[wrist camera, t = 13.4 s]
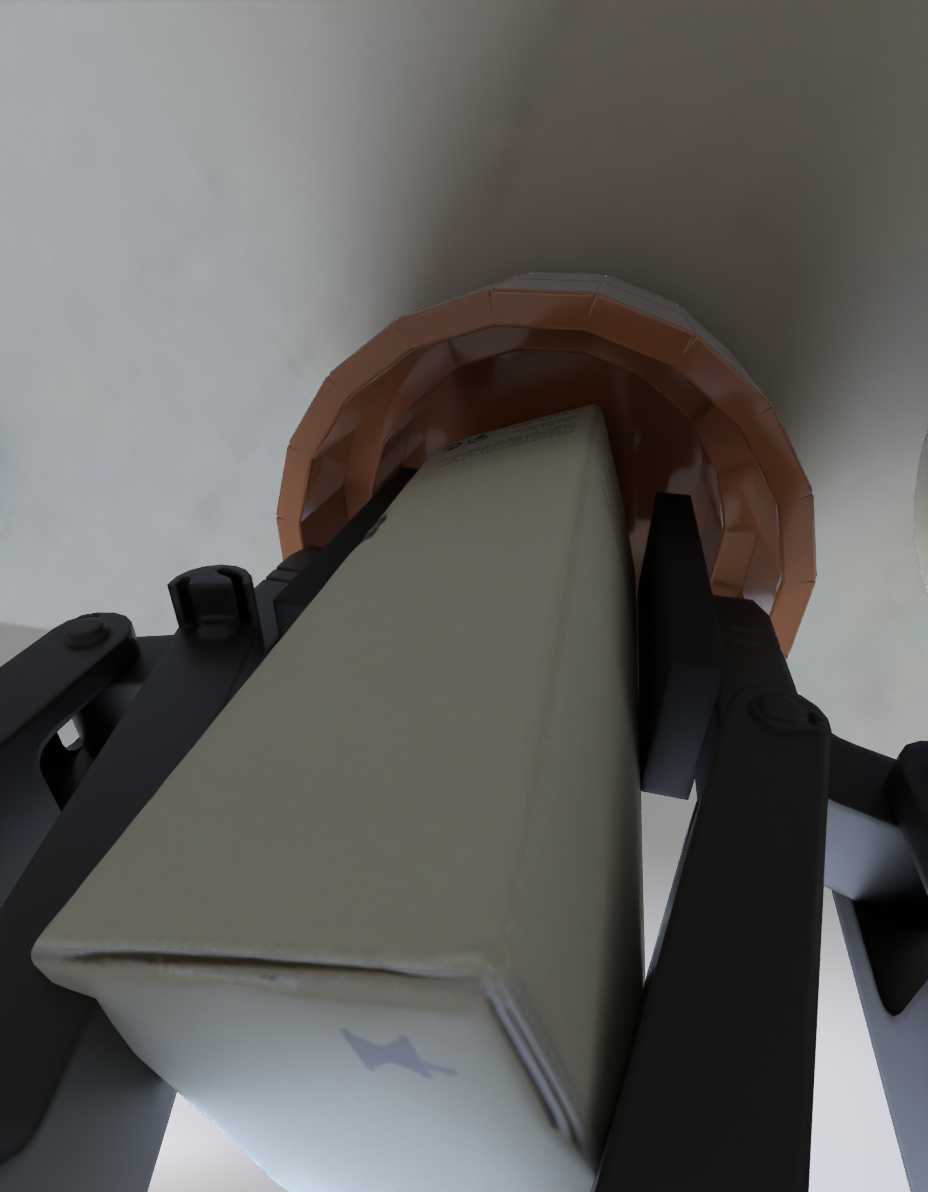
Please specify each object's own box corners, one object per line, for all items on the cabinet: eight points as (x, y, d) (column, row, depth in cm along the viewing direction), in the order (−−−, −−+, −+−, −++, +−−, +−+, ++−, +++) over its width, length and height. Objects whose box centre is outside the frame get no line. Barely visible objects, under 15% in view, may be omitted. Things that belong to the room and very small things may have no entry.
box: (432, 442, 15) (-36, 929, 5) (607, 396, 14) (500, 973, 3) (491, 616, 18) (265, 1210, 7) (646, 594, 16) (663, 1317, 5)
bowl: (822, 278, 13) (920, 303, 9) (708, 673, 19) (732, 811, 15) (352, 264, 16) (236, 278, 11) (378, 623, 21) (309, 730, 17)
